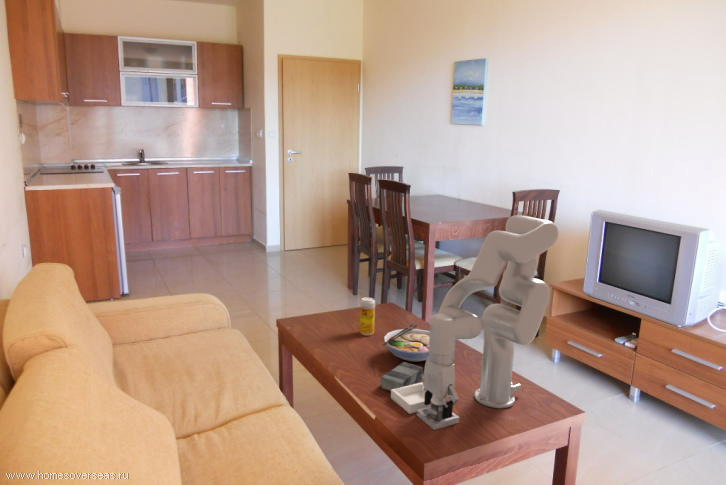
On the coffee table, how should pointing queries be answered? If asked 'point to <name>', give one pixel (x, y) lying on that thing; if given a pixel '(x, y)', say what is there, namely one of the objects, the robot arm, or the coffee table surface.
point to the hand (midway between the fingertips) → (437, 410)
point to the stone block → (401, 376)
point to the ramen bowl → (409, 343)
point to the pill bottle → (436, 408)
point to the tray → (410, 397)
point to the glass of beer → (367, 316)
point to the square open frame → (438, 424)
